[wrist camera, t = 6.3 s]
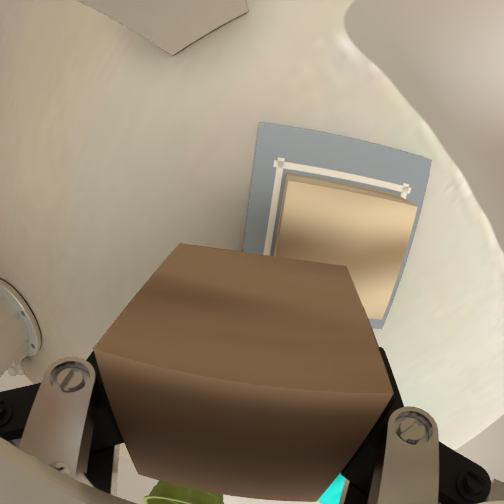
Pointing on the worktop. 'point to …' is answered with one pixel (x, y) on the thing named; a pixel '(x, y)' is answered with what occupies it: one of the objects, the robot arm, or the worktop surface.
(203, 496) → the plant pot
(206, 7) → the milk carton
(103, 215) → the worktop surface
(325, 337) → the walnut block
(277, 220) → the board
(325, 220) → the maple slab
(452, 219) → the worktop surface
